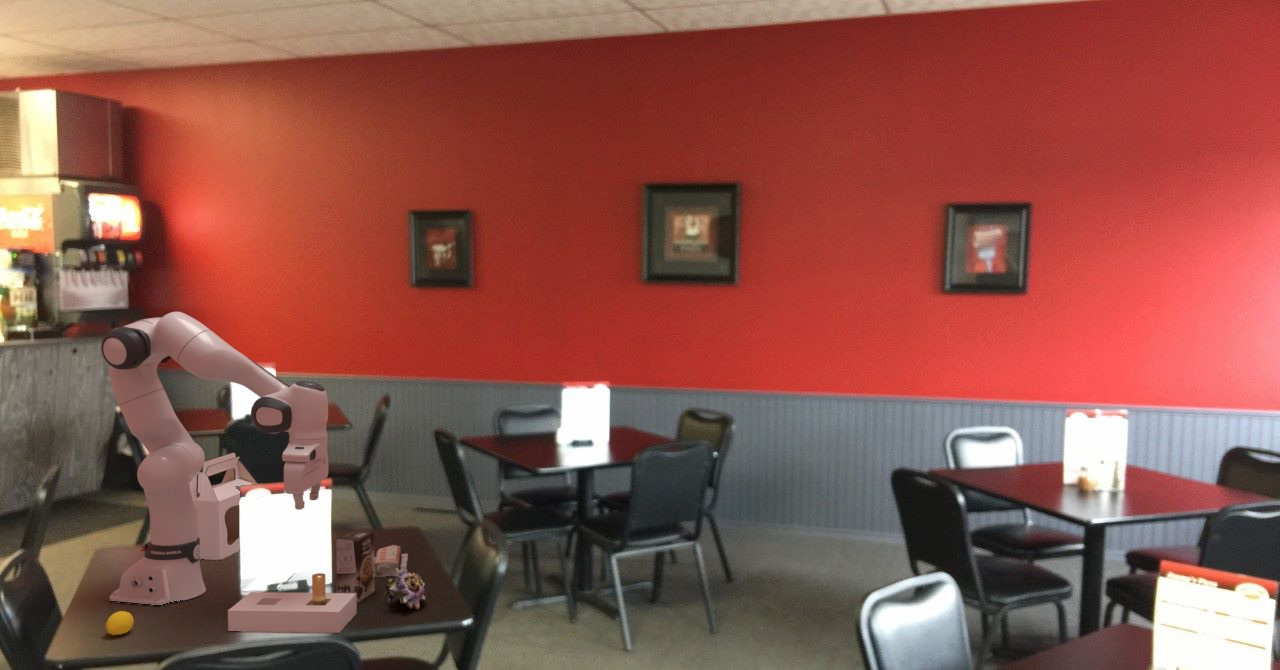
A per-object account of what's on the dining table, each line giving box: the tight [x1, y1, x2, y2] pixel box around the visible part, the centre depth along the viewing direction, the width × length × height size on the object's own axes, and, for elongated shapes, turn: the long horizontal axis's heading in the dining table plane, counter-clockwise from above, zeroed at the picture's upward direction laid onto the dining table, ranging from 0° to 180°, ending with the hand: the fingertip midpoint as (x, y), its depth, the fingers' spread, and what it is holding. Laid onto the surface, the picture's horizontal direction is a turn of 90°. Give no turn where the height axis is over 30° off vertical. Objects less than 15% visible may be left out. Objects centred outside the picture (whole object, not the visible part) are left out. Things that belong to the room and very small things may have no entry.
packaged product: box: [374, 544, 409, 578], centre depth 278 cm, size 18×5×10 cm
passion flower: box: [382, 568, 427, 610], centre depth 246 cm, size 11×11×12 cm
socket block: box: [227, 591, 358, 634], centre depth 235 cm, size 26×13×5 cm, turn 89°
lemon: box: [105, 610, 135, 636], centre depth 227 cm, size 7×5×5 cm
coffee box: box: [335, 530, 376, 603], centre depth 253 cm, size 9×6×16 cm
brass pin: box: [311, 572, 327, 605], centre depth 234 cm, size 3×3×10 cm
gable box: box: [190, 452, 259, 561], centre depth 295 cm, size 22×13×28 cm, turn 170°
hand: (306, 504), depth 241 cm, fingers open, 8 cm apart
